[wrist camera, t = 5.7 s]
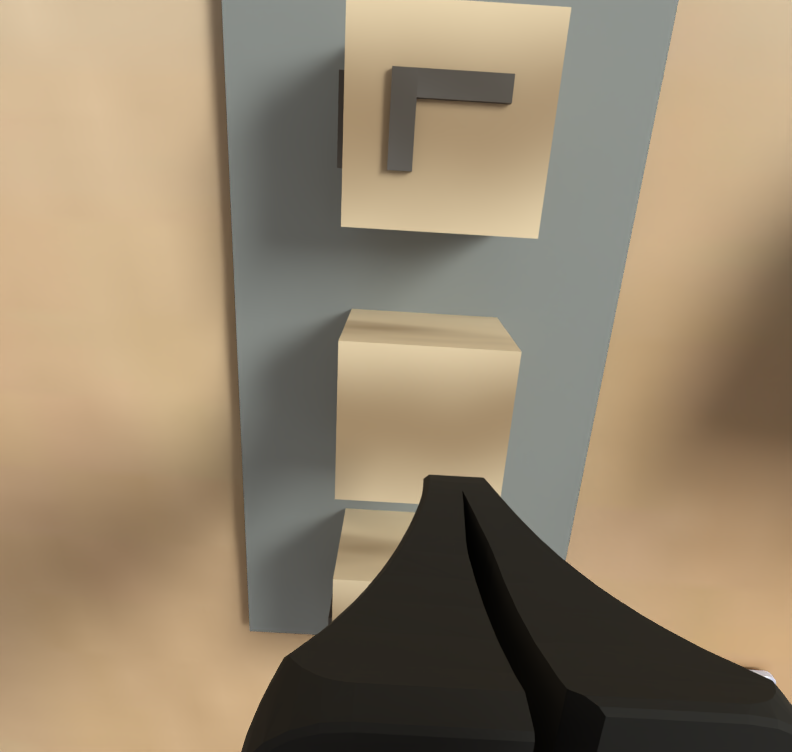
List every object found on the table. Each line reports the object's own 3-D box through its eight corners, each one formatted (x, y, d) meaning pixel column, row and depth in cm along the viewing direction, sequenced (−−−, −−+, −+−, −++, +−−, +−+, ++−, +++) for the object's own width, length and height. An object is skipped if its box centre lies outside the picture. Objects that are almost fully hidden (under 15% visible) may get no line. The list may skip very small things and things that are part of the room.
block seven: (508, 227, 17) (539, 239, 13) (348, 217, 17) (332, 226, 13) (530, 50, 16) (574, 4, 12) (353, 39, 15) (336, -12, 12)
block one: (459, 615, 23) (471, 706, 19) (337, 608, 23) (323, 698, 19) (472, 515, 21) (488, 592, 17) (340, 508, 21) (325, 583, 17)
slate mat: (544, 636, 24) (547, 647, 23) (253, 620, 24) (249, 630, 23) (668, 5, 16) (678, -2, 15) (226, -24, 16) (220, -31, 15)
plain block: (480, 447, 20) (498, 508, 16) (347, 439, 20) (334, 499, 16) (497, 317, 18) (521, 351, 14) (351, 308, 18) (338, 340, 14)
